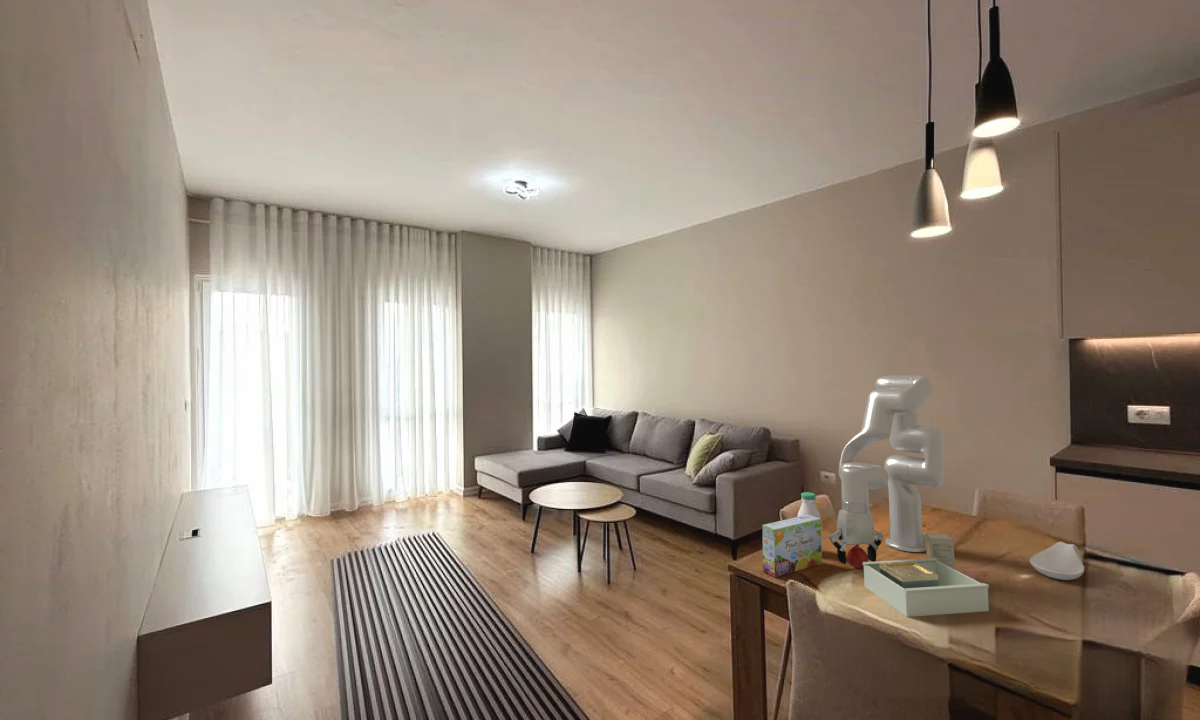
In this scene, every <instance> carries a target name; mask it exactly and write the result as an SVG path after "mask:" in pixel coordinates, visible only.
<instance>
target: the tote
mask: <svg viewBox="0 0 1200 720" xmlns="http://www.w3.org/2000/svg"><path fill="white" fill-rule="evenodd" d="M903 561H914V562H916V563H918V564H920V565H922V566H923V567H925V568H927V569H929V570H931V571H932V572H934V573H936V574H938V586H935V587H920V588H905V589H904V588H902V587H901V586H899V585H898V584H896V583H895V582H893V581H891V580H890V579H888V578H887V577H885V576H884V575H882V574H881V573H880V568H879V563H887V562H903ZM863 565H864V567H863V579H864V580H863V583H864V588H866V589H867V590H869V591H870V592H871V593H873V594H874V595H876V596H877V597H878V598H880V599H881V600H882V601H884V602H885V603H887V604H888V605H889V606H891V607H892V608H894V609H895V610H897V611H898V612H900V614H902V615H904V616H905V617H906V618H909V617H910V618H911V617H912V618H913V617H924V616H926V617H927V616H939V615H953V614H969V613H979V612H980V613H981V612H989V609H990V608H989V589H990V585H989V584H987V583H984V582H983V583H981V582H980V581H978V580H976V579H974V578H972V577H970V576H968V575H966V574H964V573H962V572H960V571H958V570H957V569H956V568H955V569H953V568H951V567H949V566H947V565H945V564H943V563H941V562H939V561H938V559H936V558H927V557H926V558H911V559H910V558H909V559H895V560H880V561H877V560H876V562H872V561H868V562H863Z"/></svg>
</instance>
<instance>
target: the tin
mask: <svg viewBox="0 0 1200 720" xmlns="http://www.w3.org/2000/svg"><path fill="white" fill-rule="evenodd" d="M879 568H880V573H881V574H882V575H884V576H885V577H887V578H888V579H890V580H891V581H893V582H895V583H896V584H898V585H899V586H901V587H902V588H904V589H905V588H920V587H935V586H938V574H936V573H934V572H932V571H931V570H929V569H927V568H925V567H923V566H922V565H920V564H918V563H916V562H914V561H903V562H887V563H879Z"/></svg>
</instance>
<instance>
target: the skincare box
mask: <svg viewBox="0 0 1200 720" xmlns="http://www.w3.org/2000/svg"><path fill="white" fill-rule="evenodd" d="M925 534H926V549H927V551H926V558H936V559H938V561H939V562H941V563H943V564H945V565H947V566H949V567H951V568H953V569H955V570H956V561H955V545H954V543H955V542H954V538H952V536H950V535H949V534H945V533H943V534H942V533H927V532H926V533H925Z"/></svg>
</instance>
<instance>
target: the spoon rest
mask: <svg viewBox="0 0 1200 720" xmlns="http://www.w3.org/2000/svg"><path fill="white" fill-rule="evenodd" d="M1082 561H1083V559H1082V556H1081V554H1080V551H1079V548H1078V547H1077V546H1076V544H1073V543H1072V544H1070V543H1065V542H1063V541H1059V542H1058V541H1057V542H1056V543H1055V544H1052V546H1050V547H1048V548H1046V549H1044V550H1042V551H1040V552H1037V553H1035V554H1034V555H1032V556H1031V557H1030V558H1029V563H1030V564H1031V566H1032V567H1033V568H1034V569H1035V570H1036V571H1037V572H1039V573H1040V574H1042V575H1044V576H1046V577H1049V578H1052V579H1055V580H1058V581H1059V580H1060V581H1072V580H1076V579H1078V578H1080V577H1081V576H1082V575H1083V574H1084V572H1085V566H1084V564H1083V562H1082Z"/></svg>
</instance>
